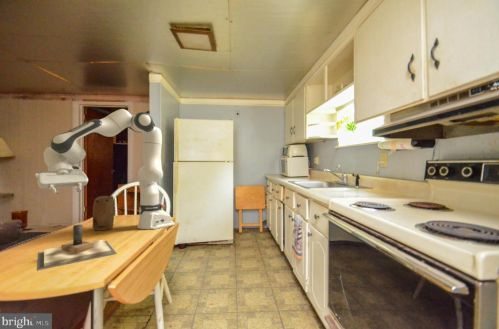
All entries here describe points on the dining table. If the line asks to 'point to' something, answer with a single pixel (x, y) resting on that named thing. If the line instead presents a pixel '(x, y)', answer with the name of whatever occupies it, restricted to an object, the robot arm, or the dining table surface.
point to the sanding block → (77, 242)
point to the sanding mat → (41, 262)
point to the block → (103, 213)
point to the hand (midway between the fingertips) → (68, 191)
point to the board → (59, 257)
